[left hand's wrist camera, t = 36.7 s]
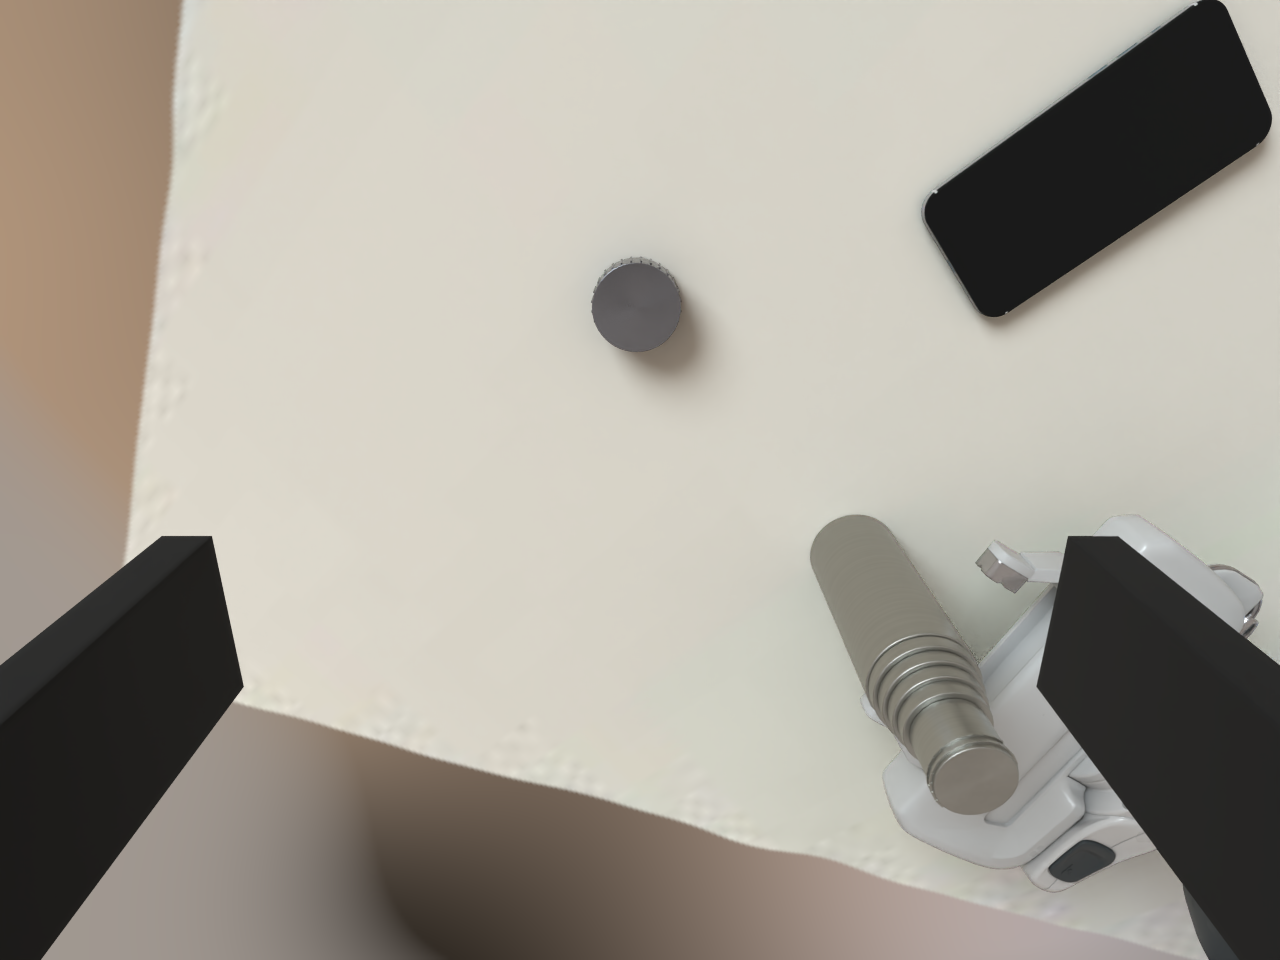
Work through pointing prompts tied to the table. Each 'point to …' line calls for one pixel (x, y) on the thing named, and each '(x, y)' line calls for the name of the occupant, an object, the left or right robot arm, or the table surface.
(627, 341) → the cap
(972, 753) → the bottle
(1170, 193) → the smartphone
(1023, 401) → the table surface
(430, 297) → the table surface
